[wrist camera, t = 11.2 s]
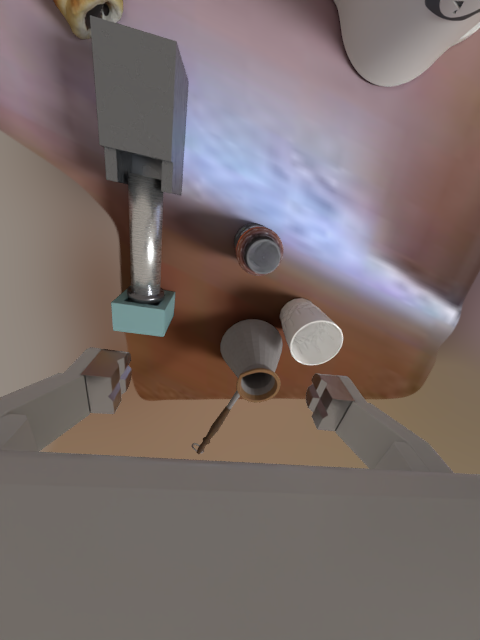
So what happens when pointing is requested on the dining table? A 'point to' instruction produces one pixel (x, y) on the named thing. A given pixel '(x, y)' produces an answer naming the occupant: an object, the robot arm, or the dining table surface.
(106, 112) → the sleeve
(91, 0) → the pastry
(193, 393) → the dining table surface
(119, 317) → the socket
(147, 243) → the tube
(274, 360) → the coffee pot
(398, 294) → the dining table surface
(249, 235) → the supplement bottle
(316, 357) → the white cup
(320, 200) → the dining table surface
